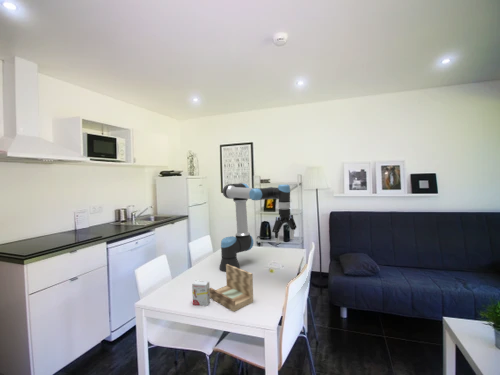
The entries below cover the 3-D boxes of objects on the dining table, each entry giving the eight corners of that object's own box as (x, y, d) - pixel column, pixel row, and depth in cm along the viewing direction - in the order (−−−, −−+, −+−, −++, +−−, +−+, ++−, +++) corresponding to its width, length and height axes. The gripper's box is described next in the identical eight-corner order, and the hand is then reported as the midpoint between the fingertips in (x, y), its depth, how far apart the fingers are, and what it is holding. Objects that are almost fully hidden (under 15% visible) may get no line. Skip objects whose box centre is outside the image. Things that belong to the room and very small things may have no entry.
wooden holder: (209, 297, 144) (208, 270, 144) (228, 289, 154) (227, 264, 153) (233, 311, 128) (232, 281, 128) (253, 301, 138) (252, 273, 137)
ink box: (192, 304, 137) (191, 283, 136) (195, 300, 142) (195, 280, 141) (207, 305, 135) (206, 284, 135) (210, 301, 140) (209, 280, 139)
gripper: (274, 211, 149) (275, 246, 150) (301, 207, 165) (302, 238, 166) (266, 210, 155) (266, 243, 156) (293, 206, 170) (293, 236, 171)
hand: (285, 241), depth 161 cm, fingers open, 13 cm apart
